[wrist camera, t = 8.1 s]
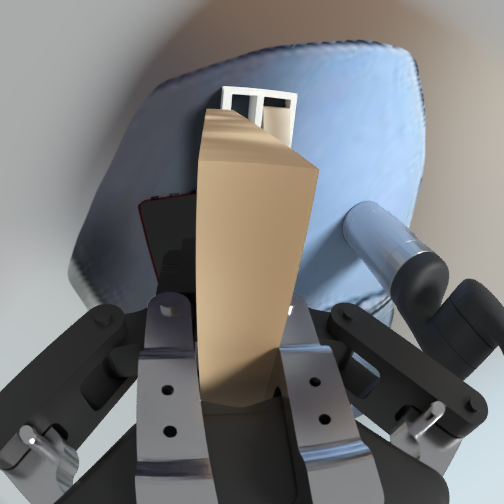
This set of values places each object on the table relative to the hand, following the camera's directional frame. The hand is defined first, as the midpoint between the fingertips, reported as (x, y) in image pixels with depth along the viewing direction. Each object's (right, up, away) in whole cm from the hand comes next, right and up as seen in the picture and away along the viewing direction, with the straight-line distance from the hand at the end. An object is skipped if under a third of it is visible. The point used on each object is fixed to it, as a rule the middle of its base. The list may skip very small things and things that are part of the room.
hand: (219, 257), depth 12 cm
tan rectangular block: (-1, +5, +8) cm, 10 cm away
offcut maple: (+4, +17, +24) cm, 30 cm away
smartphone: (-10, -1, +37) cm, 39 cm away
